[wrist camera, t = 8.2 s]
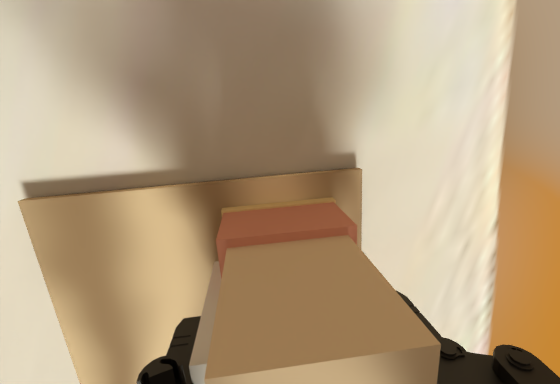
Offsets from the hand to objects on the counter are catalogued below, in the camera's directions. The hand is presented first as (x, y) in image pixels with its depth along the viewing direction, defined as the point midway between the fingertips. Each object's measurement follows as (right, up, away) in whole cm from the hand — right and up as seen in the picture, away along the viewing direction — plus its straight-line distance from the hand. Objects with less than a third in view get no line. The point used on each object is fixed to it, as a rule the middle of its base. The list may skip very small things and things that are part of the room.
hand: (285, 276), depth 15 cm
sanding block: (0, 0, +1) cm, 1 cm away
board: (-4, -2, +2) cm, 5 cm away
